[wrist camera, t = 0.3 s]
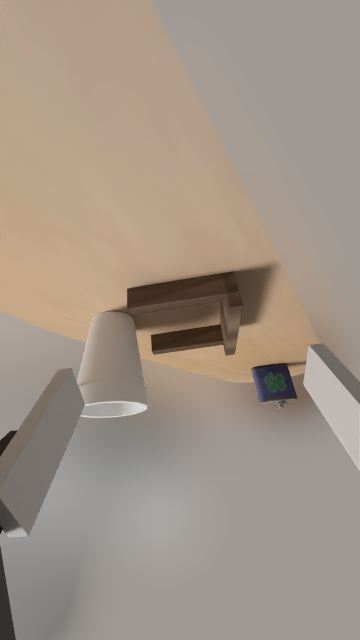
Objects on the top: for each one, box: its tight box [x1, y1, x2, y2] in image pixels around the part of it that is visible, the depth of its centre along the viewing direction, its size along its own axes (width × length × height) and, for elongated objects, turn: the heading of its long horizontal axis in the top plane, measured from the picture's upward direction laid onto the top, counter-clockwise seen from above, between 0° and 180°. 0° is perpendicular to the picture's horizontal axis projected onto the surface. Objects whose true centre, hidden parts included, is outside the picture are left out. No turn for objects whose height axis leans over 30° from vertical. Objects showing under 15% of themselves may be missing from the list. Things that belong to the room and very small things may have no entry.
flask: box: [252, 363, 297, 409], centre depth 63 cm, size 9×3×11 cm, turn 93°
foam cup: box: [77, 311, 147, 418], centre depth 36 cm, size 10×9×13 cm
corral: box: [127, 272, 243, 355], centre depth 37 cm, size 15×14×5 cm
